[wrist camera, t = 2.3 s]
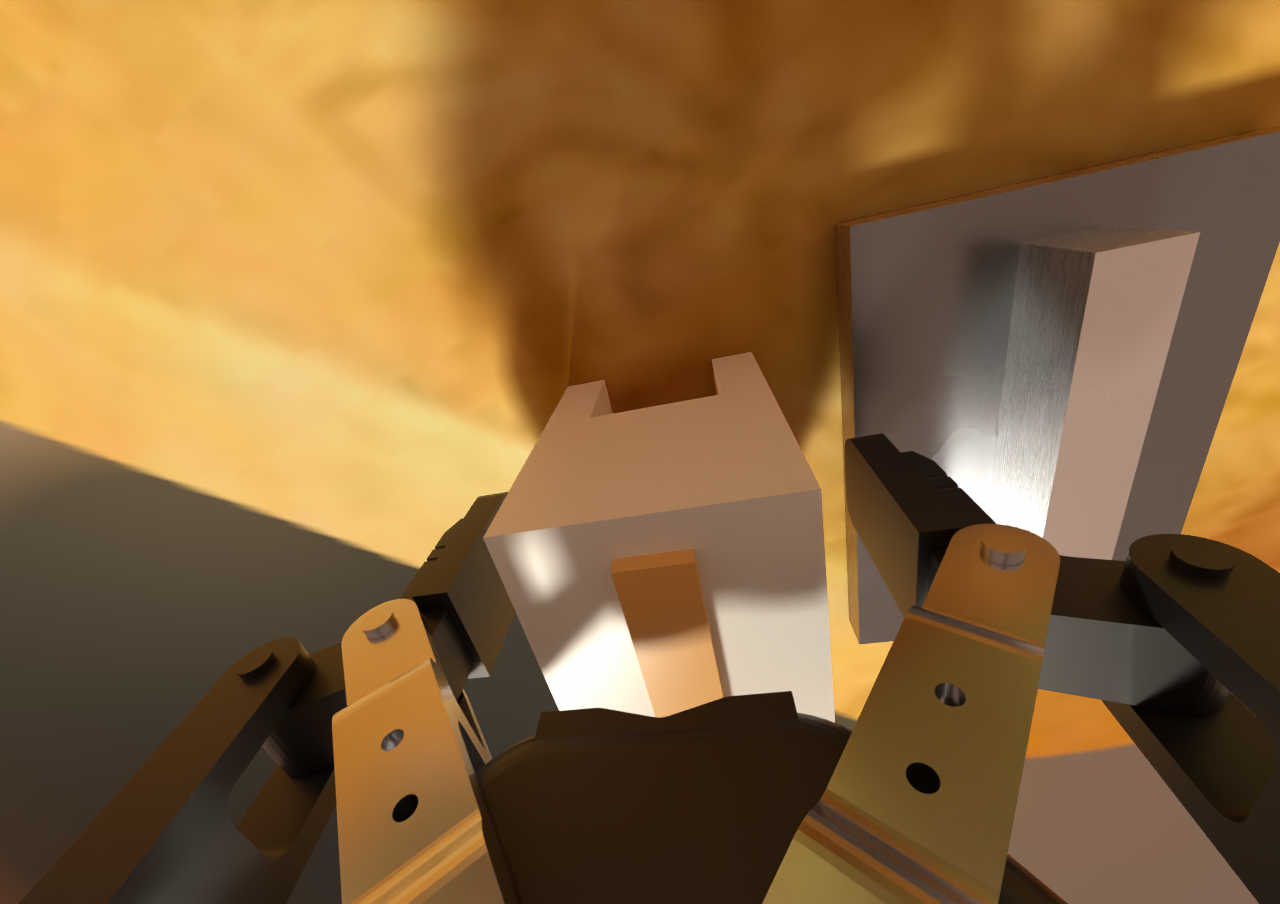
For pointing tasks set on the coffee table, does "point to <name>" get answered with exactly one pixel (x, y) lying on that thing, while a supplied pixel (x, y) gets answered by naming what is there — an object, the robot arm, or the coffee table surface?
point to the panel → (1058, 342)
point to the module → (670, 552)
